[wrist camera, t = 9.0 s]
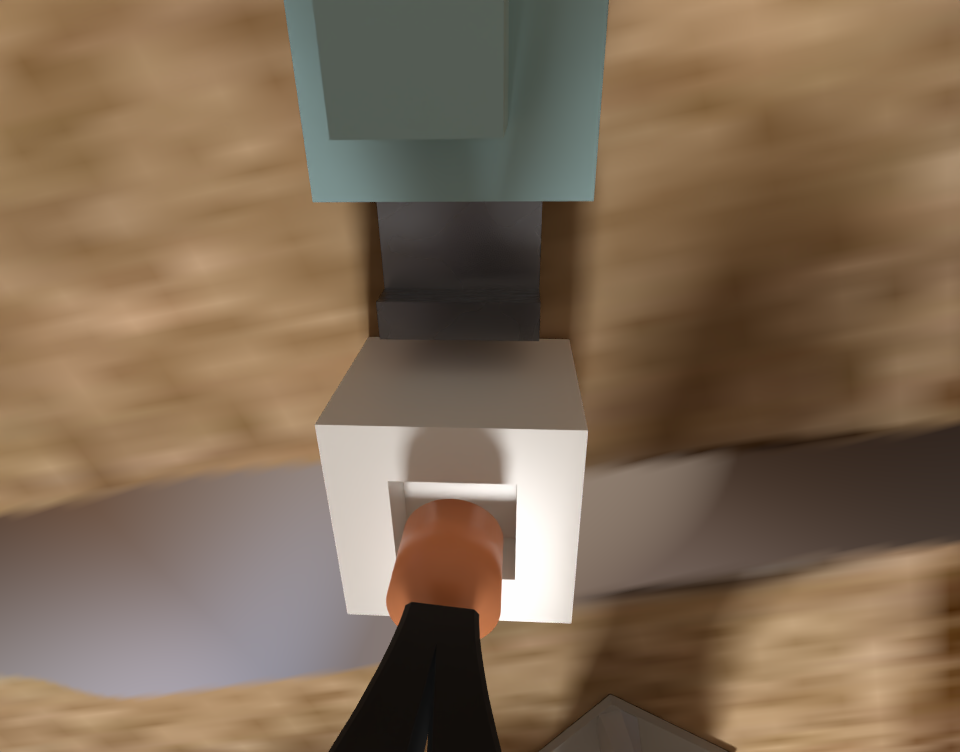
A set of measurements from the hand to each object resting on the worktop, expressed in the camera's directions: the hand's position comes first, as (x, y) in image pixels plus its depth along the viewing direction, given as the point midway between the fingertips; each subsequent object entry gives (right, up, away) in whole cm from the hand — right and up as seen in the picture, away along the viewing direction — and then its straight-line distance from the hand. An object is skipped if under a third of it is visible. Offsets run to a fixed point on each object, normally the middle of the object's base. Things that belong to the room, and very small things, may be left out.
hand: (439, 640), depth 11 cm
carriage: (0, +12, +1) cm, 12 cm away
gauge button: (0, +1, +2) cm, 3 cm away
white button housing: (0, +4, +7) cm, 8 cm away
